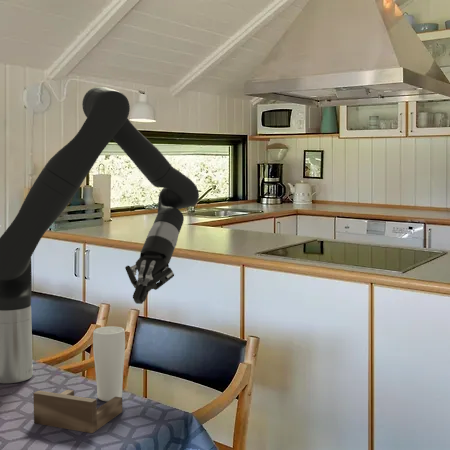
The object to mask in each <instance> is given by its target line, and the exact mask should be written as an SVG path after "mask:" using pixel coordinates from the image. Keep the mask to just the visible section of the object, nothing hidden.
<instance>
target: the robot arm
mask: <svg viewBox="0 0 450 450" xmlns="http://www.w3.org/2000/svg"><path fill="white" fill-rule="evenodd" d="M81 105H82V111H83V114H84V115H85V117H86V119H85V121H84V122H83V124H82V125H81V127H80V129H79V130H78V132H77V133H76V135H75V136H74V137H73V138H72V139H71V140H70V141H69V142H68V143H67V144H66V145H64V146H63V147H62V148H60V149H59V150H58V151H57V152H56V153H55V154H54V155H53V156H52V157H51V158H50V159H49V160H48V161H47V163H46V164H45V165H44V167H43V168H42V170H41V172H39V174H38V176H37V178H36V180H35V181H34V183H33V184H32V186H31V187H30V189H29V191H28V193H27V195H26V196H25V198H24V200H23V203H22V204H21V207H20V208H19V211H18V212H17V214H16V216H15V218H14V219H13V221H12V222H11V223H10V224H9V226H8V227H7V229H6V230H5V231H4V232H3V234H2V235H1V236H0V384H13V383H14V384H15V383H22V382H25V381H27V380H29V379H31V378H32V377H33V368H34V365H33V335H32V334H33V333H32V331H33V330H32V326H33V325H32V324H33V323H32V289H33V288H32V280H33V279H32V273H33V272H32V255H33V254H34V253H35V250H36V248H37V246H38V244H39V243H40V241H41V240H42V238H43V236H44V234H45V233H46V232H47V230H49V228H50V227H51V226H52V225H53V224H54V223H55V222H56V221H57V219H58V218H59V217H60V216H61V214H62V213H63V212H64V211H65V209H66V208H67V207H68V205H69V204H70V202H71V201H72V199H73V198H74V197H75V196H76V194H77V192H78V190H79V189H80V187H81V185H82V184H83V182H84V180H85V179H86V178H87V176H88V174H89V173H90V171H91V170H92V169H93V167H94V165H95V163H96V162H97V161H98V158H99V157H100V155H101V154H102V152H103V151H104V150H105V148H106V147H107V146H108V145H109V143H110V142H111V141H112V140H113V142H115V144H117V146H118V147H120V148H121V150H122V151H123V152H124V154H125V155H127V156H128V158H129V159H130V160H131V162H132V163H133V164H134V165H135V166H136V168H137V169H138V170H139V171H140V172H141V173H142V174H143V176H144V177H145V178H146V179H147V181H148V182H150V184H151V185H152V186H153V187H155V188H160V189H161V188H162V189H161V190H160V192H159V194H158V201H157V202H158V205H157V213H156V214H157V215H156V217H155V219H154V220H153V221H154V222H153V224H152V226H151V228H150V229H149V231H148V233H147V236H146V238H145V240H144V243H143V245H142V248H141V250H140V255H139V258H138V259H137V260H136V262H135V264H133V265H132V266H130V265H126V266H125V267H124V268H125V272H126V274H127V276H128V278H129V281H130V283H131V285H132V287H133V288H135V289H134V291H133V295H132V299H133V301H134V302H135V304H138V305H139V304H140V305H141V304H142V305H143V303H144V302H146V300H147V297H148V295H149V292H151V291H152V290H155V291H157V290H159V288H161V287H163V285H165V284H166V283H168V281H170V280H171V279H173V277H175V273H174V272H173V270H172V268H171V267H170V265H169V264H170V262H171V259H172V258H173V257H172V256H173V254H174V251H175V248H176V246H177V244H178V238H179V236H180V235H179V234H180V233H181V229H182V227H183V224H184V221H185V220H184V219H185V218H184V214H183V212H182V211H181V210H182V209H186V208H190V207H193V206H195V205H196V204H197V203H198V201H199V197H200V193H199V190H198V188H197V186H196V184H195V183H194V181H192V179H190V178H189V177H187V175H185V174H184V173H182V172H181V171H180V170H178V169H176V168H175V167H173V166H172V164H171V163H170V161H169V160H168V159H167V158H166V156H165V155H163V153H162V152H161V151H160V150H159V148H157V147H156V146H155V145H154V144H153V143H152V142H151V141H150V140H149V139H148V138H146V136H145V135H143V133H141V132H140V131H139V130H138V129H137V128H136V127H135V125H134V124H133V123H132V122H131V121H130V120H129V119H128V118H129V116H130V115H129V114H130V111H131V109H130V107H131V106H130V102H129V99H128V98H127V96H126V95H125V94H124V93H123V92H120V91H118V90H115V89H113V88H110V87H106V86H97V87H92V88H90V89H89V90H88V91H87V92H86V93H85V94H84V96H83V99H82V102H81ZM136 275H137V278H136Z"/></svg>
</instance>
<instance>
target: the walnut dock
mask: <svg viewBox="0 0 450 450" xmlns="http://www.w3.org/2000/svg"><path fill="white" fill-rule="evenodd" d="M32 395H33V398H32V399H33V423H34V424H38V425H42V426H49V427H54V428H60V429H64V430H65V429H67V430H70V431H76V432H83V433H87V434H88V433H89V434H93V433H95V432H97V431H98V430H99V429H101V428H102V427H103V426H105V425H106V424H108V422H110V421H112V420H113V419H114V418H116V417H118V416H119V415H120V414H121V413H123V397H114V398H112V399H111V400H109V401H105V403H103V404H102V405H100V406H99V407H97V405H98V403H97V399H98V398H90V397H83V396H77V395H75V390H72V389H66V390H64V391H62V392H60V393H58V392H57V393H56V392H51V391H45V390H44V391H43V390H37V391H35V392H33V394H32Z"/></svg>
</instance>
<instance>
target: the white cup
mask: <svg viewBox="0 0 450 450" xmlns="http://www.w3.org/2000/svg"><path fill="white" fill-rule="evenodd" d="M92 332H93V333H92V334H93V336H92V347H93V348H92V349H93V351H92V352H93V360H94V370H95V380H96V390H97V391H96V393H97V394H96V396H97V399H98V400H100V401H103V402H108V401H109V400H111V399H112V398H114V397H121V398H123V397H122V396H123V384H124V383H123V382H124V381H123V380H124V379H123V378H124V368H125V367H124V366H125V354H126V352H125V351H126V332H125V328H124V327H121V326H113V325H112V326H101V327H97V328H95V329H93V331H92Z"/></svg>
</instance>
